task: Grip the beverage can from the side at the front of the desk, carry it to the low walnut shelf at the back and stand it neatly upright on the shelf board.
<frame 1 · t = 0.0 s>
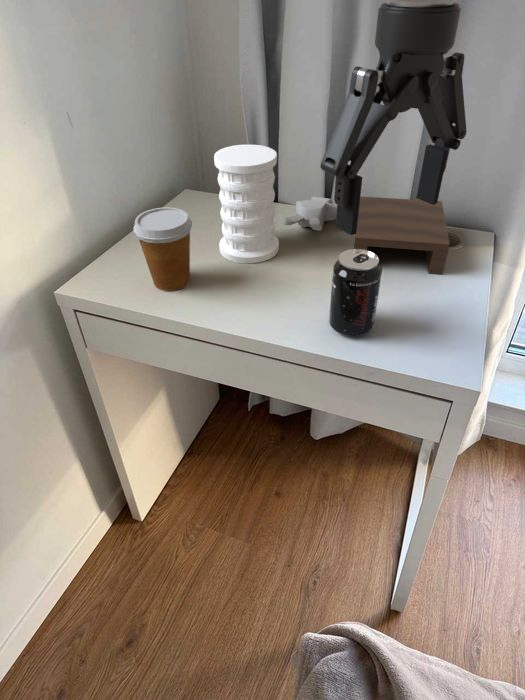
hand: (388, 215, 60), 21 cm above the table, tool pointing down, fingers open, 13 cm apart
decorative container: (249, 249, 97), on the table
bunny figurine: (312, 225, 104), on the table
beverage can: (350, 328, 77), on the table
disposable coffee cup: (172, 282, 88), on the table
shelf: (395, 247, 96), on the table
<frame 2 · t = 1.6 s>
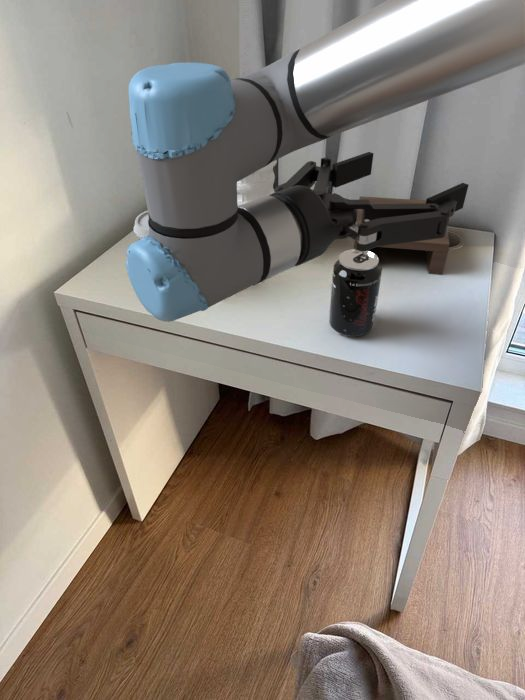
hand: (413, 178, 60), 24 cm above the table, tool horizontal, fingers open, 13 cm apart
nothing on the table moved.
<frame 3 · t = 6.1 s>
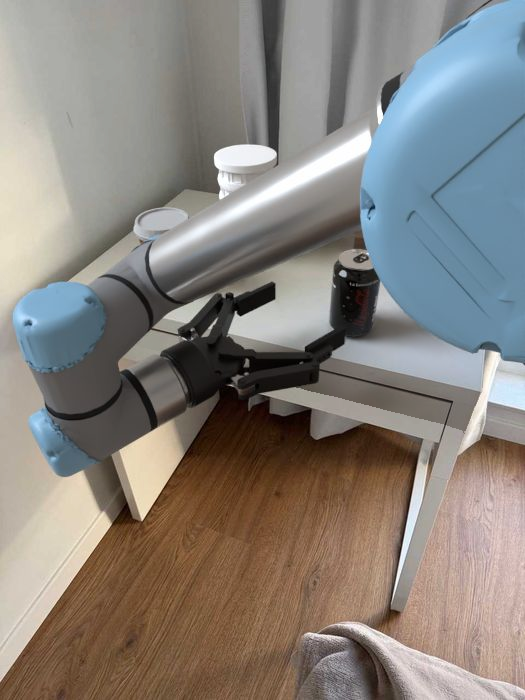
hand: (306, 311, 68), 8 cm above the table, tool horizontal, fingers open, 13 cm apart
nothing on the table moved.
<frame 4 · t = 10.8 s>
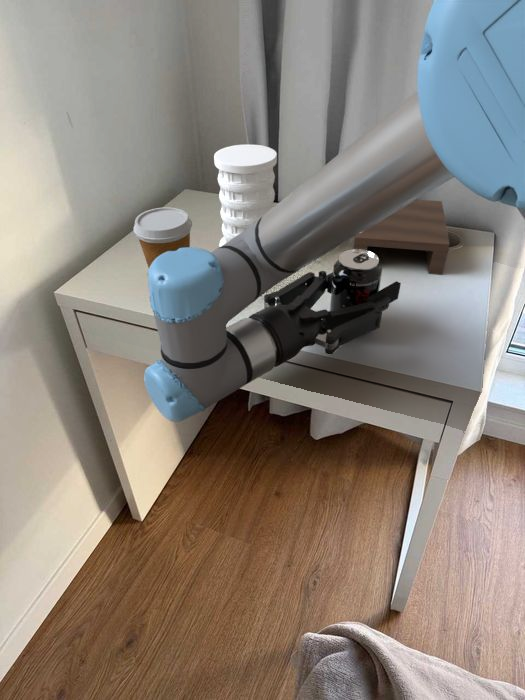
hand: (377, 279, 75), 6 cm above the table, tool horizontal, fingers closed on beverage can, 7 cm apart
beverage can: (350, 328, 77), on the table, touching gripper
everything else where it was.
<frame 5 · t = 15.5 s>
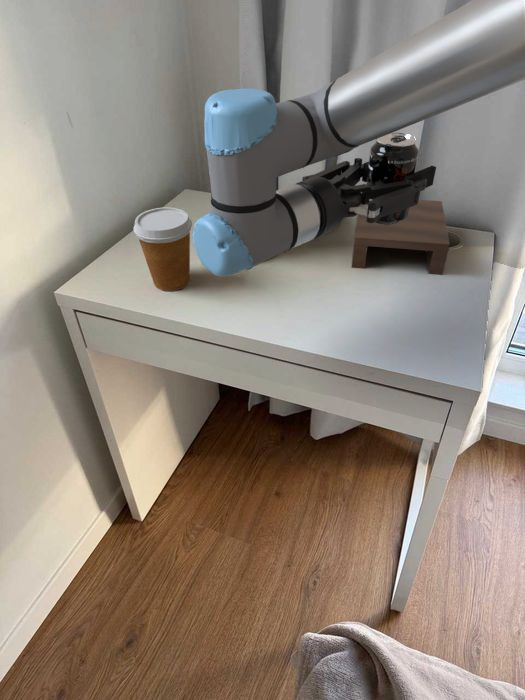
hand: (411, 168, 76), 19 cm above the table, tool horizontal, fingers closed on beverage can, 7 cm apart
beverage can: (384, 219, 78), point 12 cm above the table, touching gripper
everything else where it was.
when the fingers open (12 cm above the table, at t = 20.7 s): beverage can stays where it is, resting on shelf.
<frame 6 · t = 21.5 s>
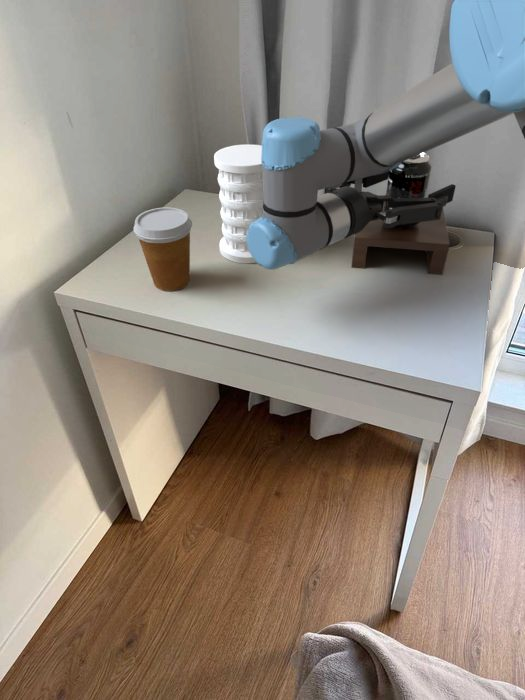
hand: (419, 181, 88), 13 cm above the table, tool horizontal, fingers open, 13 cm apart
beverage can: (400, 223, 91), point 6 cm above the table, touching shelf
everything else where it was.
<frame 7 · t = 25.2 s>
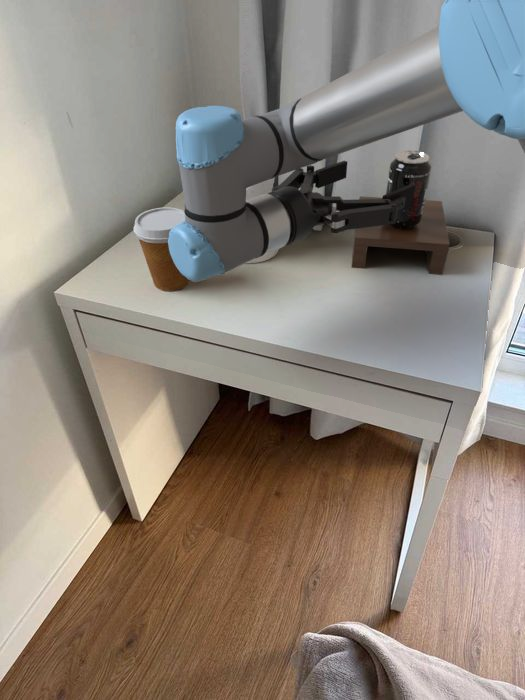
hand: (376, 180, 79), 17 cm above the table, tool horizontal, fingers open, 13 cm apart
nothing on the table moved.
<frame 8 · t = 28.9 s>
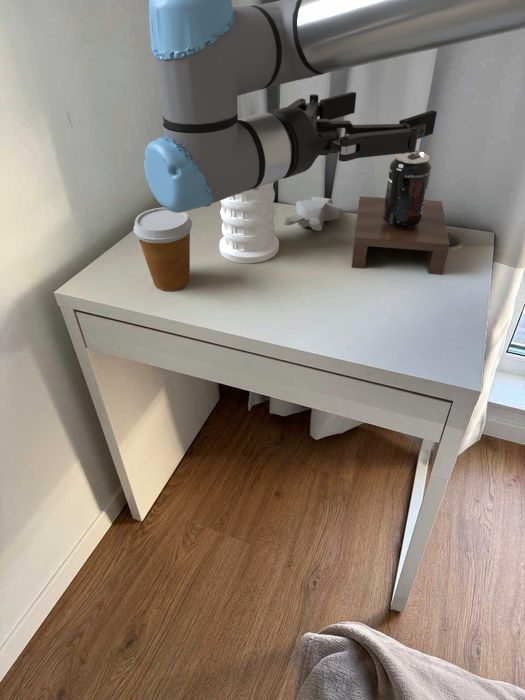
hand: (390, 111, 68), 28 cm above the table, tool horizontal, fingers open, 13 cm apart
nothing on the table moved.
at the end: beverage can inside the target area on the shelf (0.2 cm from its centre), point 5.8 cm above the shelf's base; beverage can tilted 0°; the gripper is holding nothing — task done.
